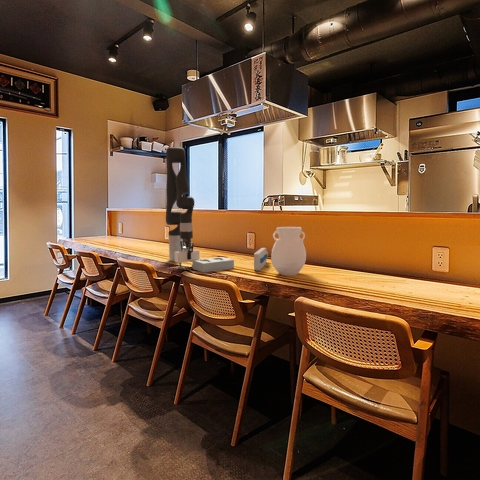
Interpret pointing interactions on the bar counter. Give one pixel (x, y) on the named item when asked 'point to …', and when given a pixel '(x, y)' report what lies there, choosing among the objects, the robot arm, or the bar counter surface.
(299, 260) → the white vase
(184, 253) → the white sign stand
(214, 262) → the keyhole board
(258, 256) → the decorative sign
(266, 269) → the bar counter surface
